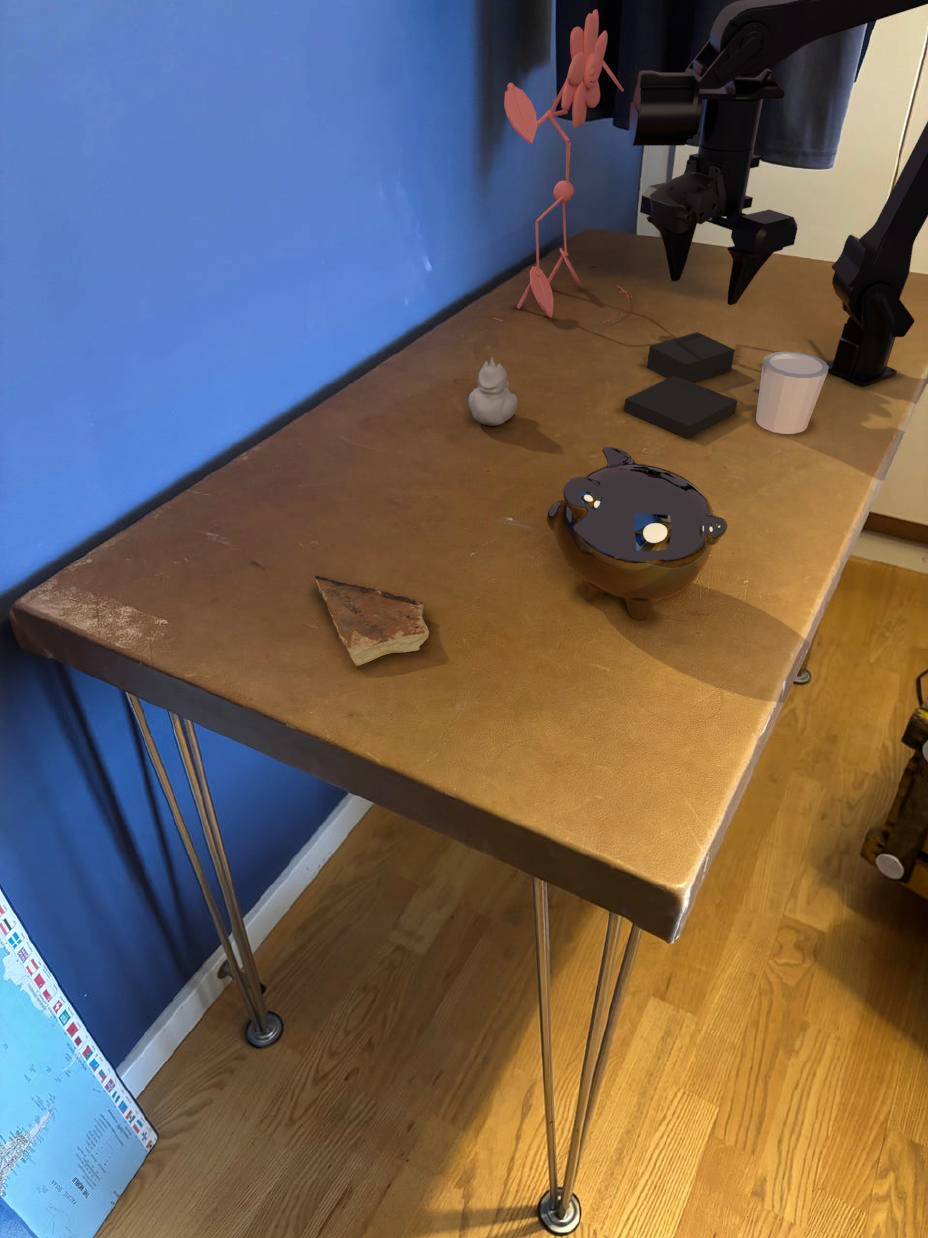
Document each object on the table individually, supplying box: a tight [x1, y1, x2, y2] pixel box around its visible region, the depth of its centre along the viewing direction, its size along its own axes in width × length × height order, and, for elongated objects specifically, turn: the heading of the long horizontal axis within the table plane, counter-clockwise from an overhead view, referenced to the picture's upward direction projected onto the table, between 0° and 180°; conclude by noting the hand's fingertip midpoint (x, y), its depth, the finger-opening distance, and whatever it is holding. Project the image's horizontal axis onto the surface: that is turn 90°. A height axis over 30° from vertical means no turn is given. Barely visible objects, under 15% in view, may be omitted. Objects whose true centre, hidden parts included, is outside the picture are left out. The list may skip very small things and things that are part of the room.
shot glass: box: [755, 350, 829, 435], centre depth 100 cm, size 7×7×7 cm
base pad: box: [623, 376, 739, 440], centre depth 104 cm, size 9×9×2 cm
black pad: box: [646, 331, 736, 384], centre depth 112 cm, size 8×6×3 cm
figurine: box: [493, 9, 633, 324], centre depth 118 cm, size 15×26×35 cm, turn 151°
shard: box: [314, 575, 430, 667], centre depth 75 cm, size 11×8×2 cm
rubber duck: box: [468, 355, 519, 427], centre depth 100 cm, size 5×7×8 cm
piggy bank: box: [546, 446, 728, 621], centre depth 75 cm, size 11×15×12 cm
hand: (702, 292), depth 107 cm, fingers open, 9 cm apart
